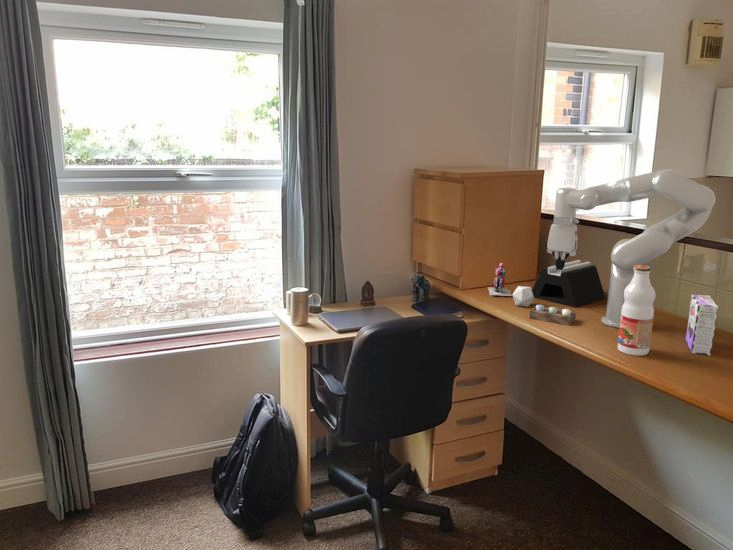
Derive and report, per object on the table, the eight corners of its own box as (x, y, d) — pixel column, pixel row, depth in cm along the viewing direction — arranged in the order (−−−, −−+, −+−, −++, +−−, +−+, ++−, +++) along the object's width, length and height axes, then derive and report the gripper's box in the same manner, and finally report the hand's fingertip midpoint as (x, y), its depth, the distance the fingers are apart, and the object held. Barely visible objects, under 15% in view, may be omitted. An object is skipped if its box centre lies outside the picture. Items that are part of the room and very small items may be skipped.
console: (575, 320, 218) (576, 312, 218) (569, 325, 212) (570, 317, 211) (536, 313, 227) (537, 306, 226) (529, 318, 220) (529, 310, 220)
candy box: (684, 339, 197) (691, 293, 193) (704, 342, 195) (711, 295, 191) (690, 353, 185) (697, 303, 181) (711, 355, 183) (719, 305, 179)
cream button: (571, 318, 217) (571, 309, 216) (568, 320, 214) (569, 311, 214) (563, 317, 218) (563, 308, 218) (560, 319, 216) (561, 310, 215)
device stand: (529, 297, 252) (531, 263, 248) (558, 289, 265) (561, 257, 262) (575, 308, 235) (579, 272, 231) (604, 299, 248) (608, 265, 245)
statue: (511, 300, 251) (515, 267, 245) (490, 299, 251) (493, 266, 246) (508, 290, 261) (511, 259, 256) (487, 289, 262) (489, 258, 256)
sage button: (557, 316, 220) (558, 307, 219) (555, 318, 217) (556, 309, 216) (549, 315, 221) (550, 306, 220) (547, 316, 219) (548, 308, 218)
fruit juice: (651, 357, 181) (661, 270, 174) (618, 354, 184) (627, 268, 177) (646, 347, 189) (656, 264, 183) (615, 344, 192) (624, 262, 186)
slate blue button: (544, 314, 222) (545, 305, 222) (542, 316, 220) (542, 307, 219) (537, 312, 224) (537, 304, 223) (534, 314, 222) (535, 306, 221)
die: (535, 305, 240) (525, 285, 243) (539, 300, 232) (529, 279, 234) (517, 313, 240) (507, 292, 242) (521, 308, 231) (510, 286, 234)
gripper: (587, 222, 214) (582, 270, 219) (548, 218, 223) (543, 265, 227) (581, 224, 208) (576, 274, 213) (541, 220, 217) (537, 268, 221)
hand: (559, 269), depth 220 cm, fingers closed
